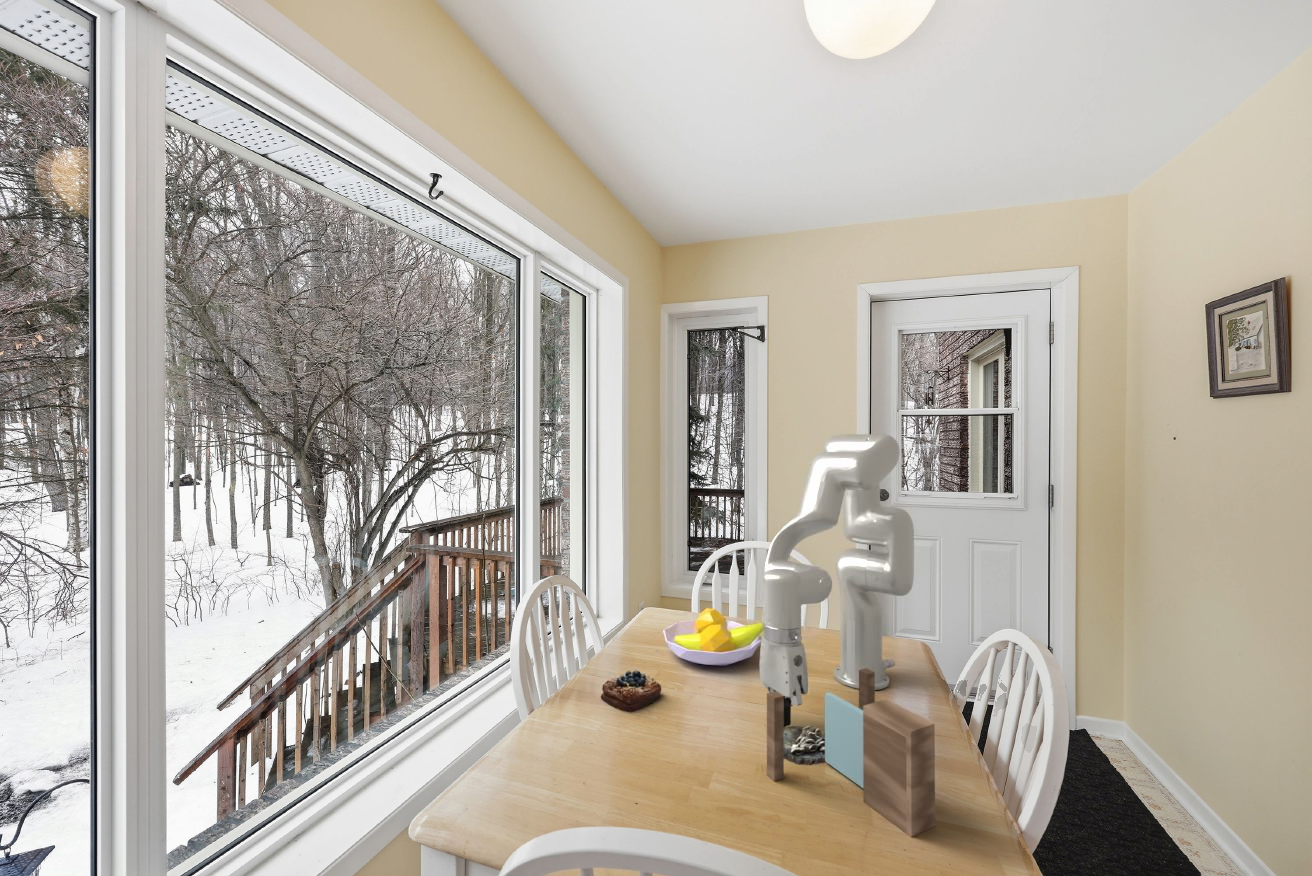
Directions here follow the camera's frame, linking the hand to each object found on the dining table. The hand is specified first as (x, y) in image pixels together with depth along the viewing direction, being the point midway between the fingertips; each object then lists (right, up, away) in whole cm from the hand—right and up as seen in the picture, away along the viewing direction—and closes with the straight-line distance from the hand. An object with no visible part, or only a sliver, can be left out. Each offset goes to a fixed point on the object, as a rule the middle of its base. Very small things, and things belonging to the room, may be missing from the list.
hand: (781, 724), depth 108 cm
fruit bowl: (-9, -2, +38) cm, 39 cm away
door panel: (+8, -1, -15) cm, 17 cm away
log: (+3, -2, -6) cm, 7 cm away
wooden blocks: (+10, -1, -19) cm, 21 cm away
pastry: (-31, -2, +14) cm, 34 cm away
